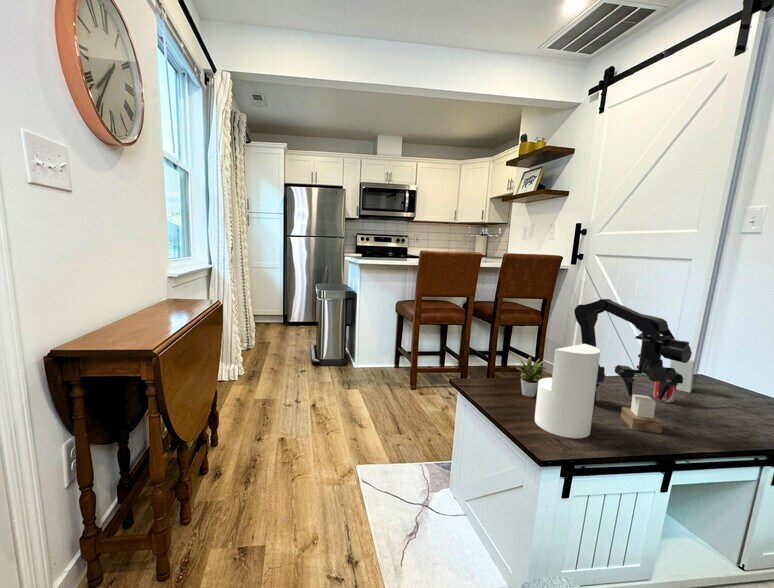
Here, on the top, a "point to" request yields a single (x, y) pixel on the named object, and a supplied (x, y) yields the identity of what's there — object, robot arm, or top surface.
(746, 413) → the top surface
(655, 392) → the soda can
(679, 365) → the skincare box
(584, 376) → the white stepped curved block
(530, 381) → the house plant
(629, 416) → the tan square slab
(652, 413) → the cream cube
